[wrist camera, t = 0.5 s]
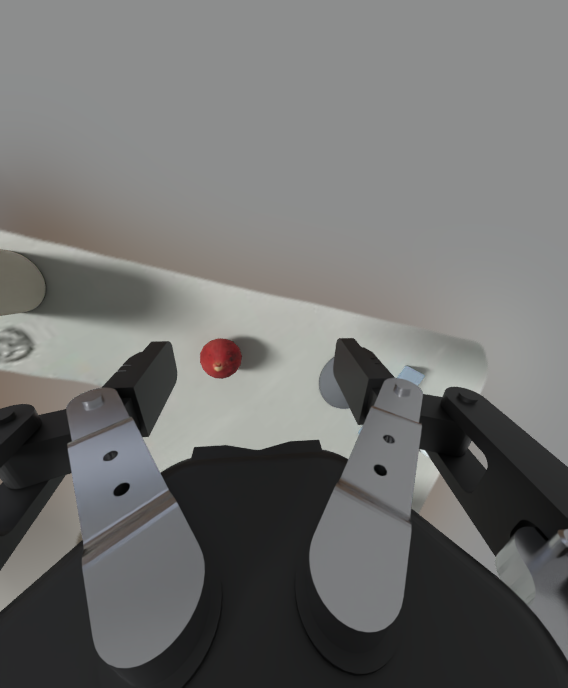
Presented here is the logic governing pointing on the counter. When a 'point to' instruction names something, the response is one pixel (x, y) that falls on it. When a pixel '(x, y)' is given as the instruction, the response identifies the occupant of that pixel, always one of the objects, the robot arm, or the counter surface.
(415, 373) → the divider wall
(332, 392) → the mat
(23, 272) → the travel mug
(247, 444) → the counter surface
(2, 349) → the counter surface
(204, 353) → the onion
